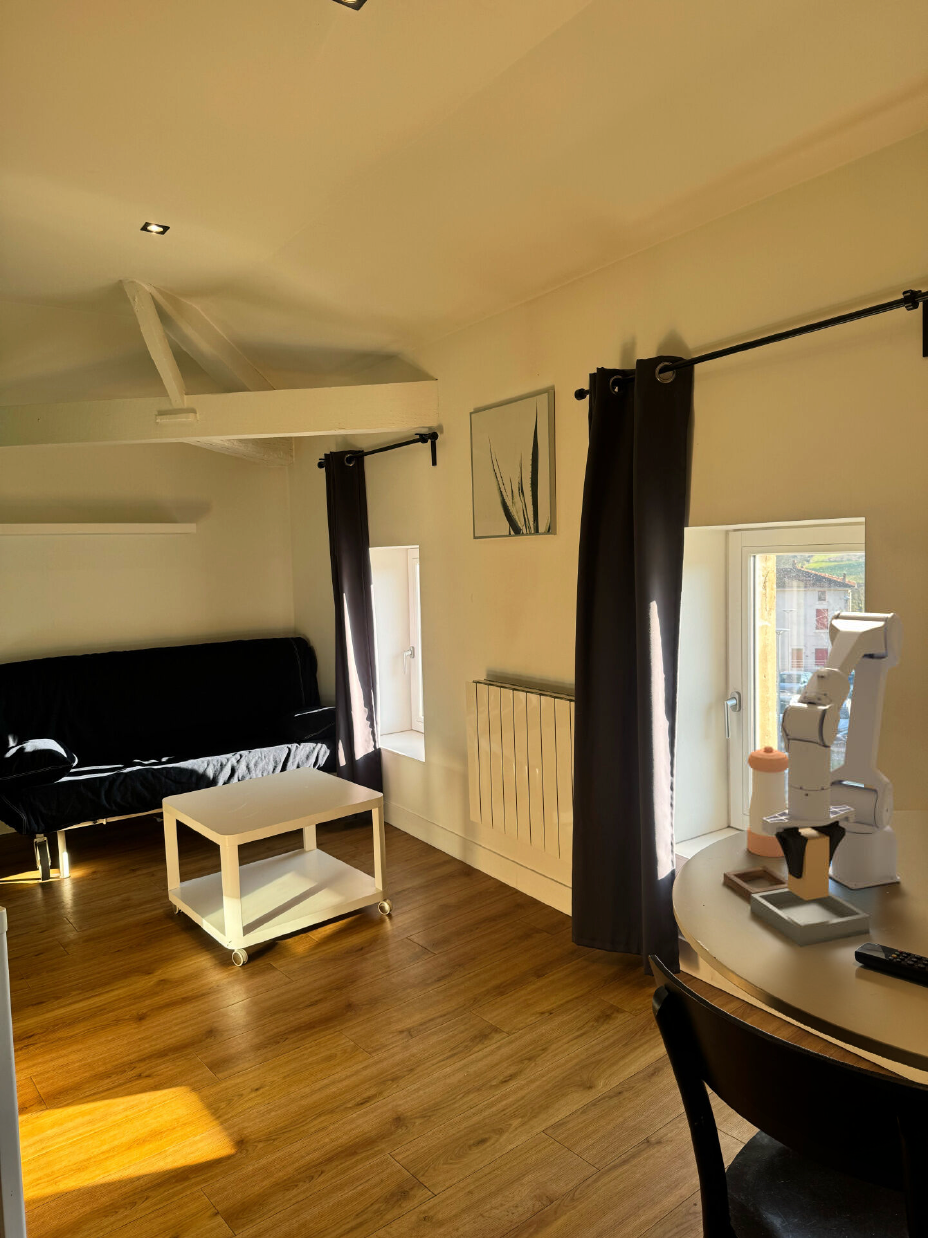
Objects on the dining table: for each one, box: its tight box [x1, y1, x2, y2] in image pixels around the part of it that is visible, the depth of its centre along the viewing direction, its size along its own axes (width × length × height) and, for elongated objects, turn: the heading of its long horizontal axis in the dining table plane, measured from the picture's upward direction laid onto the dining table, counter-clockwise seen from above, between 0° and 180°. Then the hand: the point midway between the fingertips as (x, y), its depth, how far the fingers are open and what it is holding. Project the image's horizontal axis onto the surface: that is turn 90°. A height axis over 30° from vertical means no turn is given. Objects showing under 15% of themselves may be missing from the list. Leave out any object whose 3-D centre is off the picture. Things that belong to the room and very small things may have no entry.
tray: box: [750, 888, 871, 947], centre depth 122 cm, size 12×12×2 cm
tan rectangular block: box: [787, 828, 830, 900], centre depth 121 cm, size 4×4×9 cm
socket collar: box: [723, 865, 788, 902], centre depth 134 cm, size 8×8×2 cm
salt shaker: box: [746, 745, 788, 858], centre depth 148 cm, size 7×7×19 cm
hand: (808, 873), depth 121 cm, fingers closed on tan rectangular block, 4 cm apart
